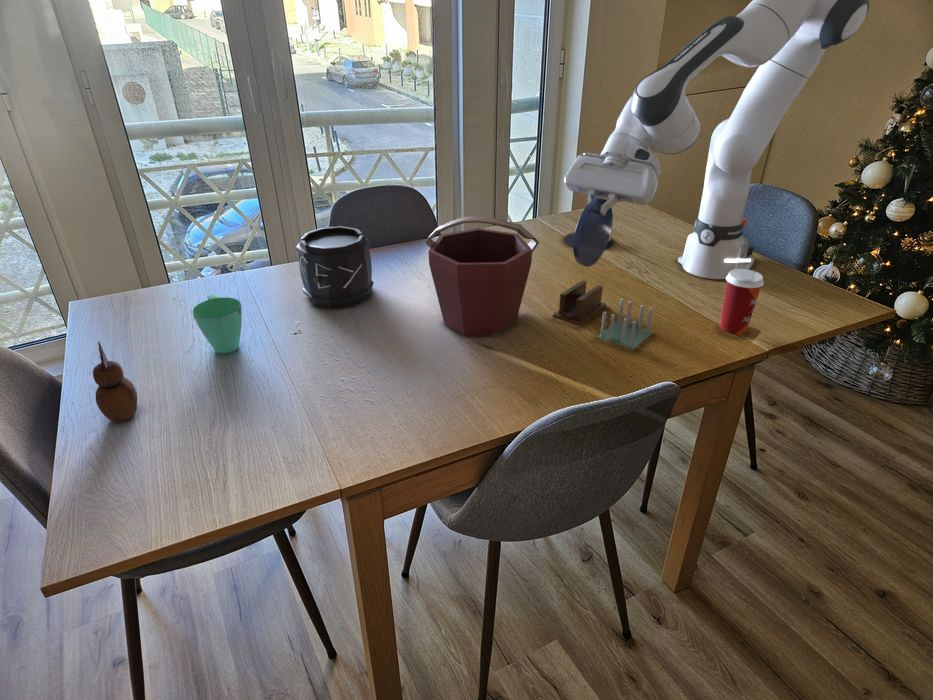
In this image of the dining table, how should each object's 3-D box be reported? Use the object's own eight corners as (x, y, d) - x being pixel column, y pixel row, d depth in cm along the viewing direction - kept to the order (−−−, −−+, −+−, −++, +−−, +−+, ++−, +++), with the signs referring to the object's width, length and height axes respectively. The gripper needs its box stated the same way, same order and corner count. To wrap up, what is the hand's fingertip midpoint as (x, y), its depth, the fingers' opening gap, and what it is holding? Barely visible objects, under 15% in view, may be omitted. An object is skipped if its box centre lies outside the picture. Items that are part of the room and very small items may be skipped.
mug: (253, 352, 133) (244, 311, 128) (206, 363, 129) (195, 322, 124) (242, 324, 144) (233, 285, 139) (197, 334, 141) (187, 294, 136)
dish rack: (616, 323, 143) (620, 296, 139) (652, 335, 138) (657, 307, 134) (595, 340, 136) (598, 312, 133) (632, 353, 131) (636, 324, 128)
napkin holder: (580, 301, 153) (583, 277, 150) (605, 309, 149) (608, 284, 146) (552, 320, 145) (554, 295, 141) (578, 329, 141) (580, 303, 138)
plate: (604, 252, 144) (610, 190, 136) (609, 253, 143) (615, 190, 135) (571, 275, 134) (575, 208, 126) (575, 276, 134) (580, 210, 126)
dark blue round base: (601, 254, 180) (603, 236, 177) (555, 244, 187) (556, 227, 184) (620, 238, 191) (622, 221, 188) (575, 230, 198) (577, 213, 195)
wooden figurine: (114, 406, 117) (89, 337, 109) (146, 404, 117) (122, 335, 109) (99, 427, 111) (71, 357, 103) (132, 426, 111) (107, 355, 103)
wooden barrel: (288, 304, 153) (278, 245, 145) (328, 277, 168) (320, 221, 160) (350, 316, 147) (343, 255, 139) (386, 287, 162) (381, 230, 154)
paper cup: (753, 341, 135) (768, 283, 128) (716, 338, 137) (730, 280, 129) (746, 324, 142) (761, 268, 135) (712, 322, 143) (724, 266, 136)
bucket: (544, 311, 149) (550, 210, 136) (511, 353, 132) (514, 243, 119) (453, 293, 158) (451, 198, 145) (411, 331, 141) (405, 227, 128)
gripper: (575, 142, 137) (549, 196, 135) (662, 155, 125) (634, 214, 124) (584, 159, 142) (558, 210, 140) (668, 173, 131) (641, 229, 129)
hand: (594, 212), depth 132 cm, fingers closed on plate, 1 cm apart
